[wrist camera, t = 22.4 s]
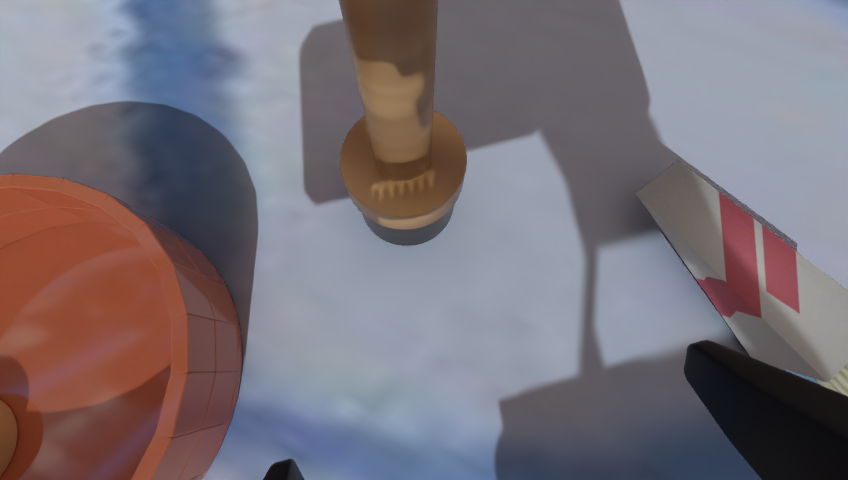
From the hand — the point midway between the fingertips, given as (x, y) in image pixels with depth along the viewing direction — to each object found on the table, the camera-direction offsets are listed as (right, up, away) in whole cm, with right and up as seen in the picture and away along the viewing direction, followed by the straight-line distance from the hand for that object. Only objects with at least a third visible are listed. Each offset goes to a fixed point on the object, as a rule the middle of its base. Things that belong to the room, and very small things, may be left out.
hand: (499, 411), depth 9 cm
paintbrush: (+15, -2, +10) cm, 18 cm away
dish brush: (-2, +6, +11) cm, 13 cm away
